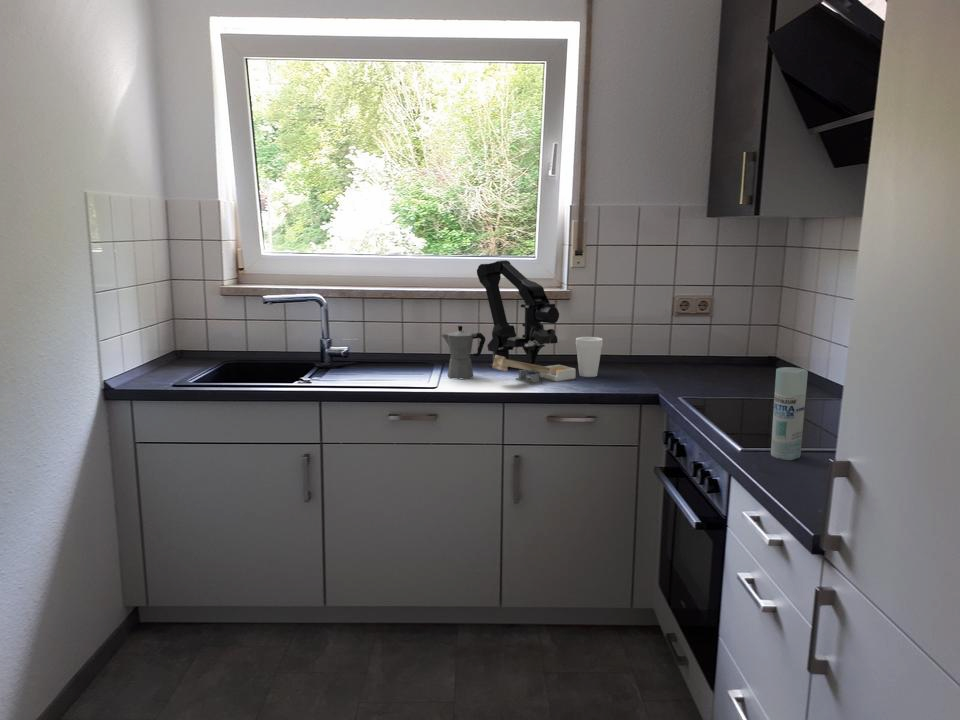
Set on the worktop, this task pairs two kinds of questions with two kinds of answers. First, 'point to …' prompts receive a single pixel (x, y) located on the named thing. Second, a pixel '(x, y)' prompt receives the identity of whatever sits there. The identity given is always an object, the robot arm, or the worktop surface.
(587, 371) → the foam cup
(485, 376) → the worktop surface
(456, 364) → the coffeepot
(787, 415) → the spray paint can
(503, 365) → the lever
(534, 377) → the fulcrum
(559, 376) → the dish
